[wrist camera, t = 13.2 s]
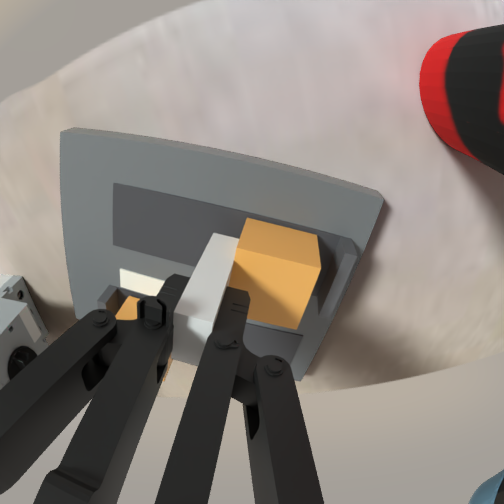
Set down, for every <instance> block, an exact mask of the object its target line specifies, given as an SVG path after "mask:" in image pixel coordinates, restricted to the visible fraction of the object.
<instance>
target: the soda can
mask: <svg viewBox="0 0 504 504" xmlns="http://www.w3.org/2000/svg"><path fill="white" fill-rule="evenodd" d="M419 87H420V96H421V101H422V105H423V108H424V111H425V114H426V116H427V118H428V120H429V123H430V124H431V126H432V127H433V129H434V130H435V132H436V133H437V134H438V135H439V136H440V138H441V139H442V140H443V141H444V142H445V143H447V144H448V145H449V146H451V147H452V148H454V149H456V150H458V151H460V152H462V153H464V154H466V155H468V156H470V157H472V158H474V159H476V160H478V161H479V162H481V163H483V164H485V165H487V166H489V167H491V168H492V169H494V170H496V171H498V172H499V173H501V174H503V175H504V24H503V25H497V26H491V27H486V28H481V29H476V30H471V31H466V32H462V33H457V34H453V35H449V36H447V37H444V38H441V39H440V40H439V41H437V42H436V43H435V44H433V46H432V47H431V48H430V49H429V51H428V52H427V54H426V56H425V58H424V60H423V62H422V67H421V71H420V82H419Z"/></svg>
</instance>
